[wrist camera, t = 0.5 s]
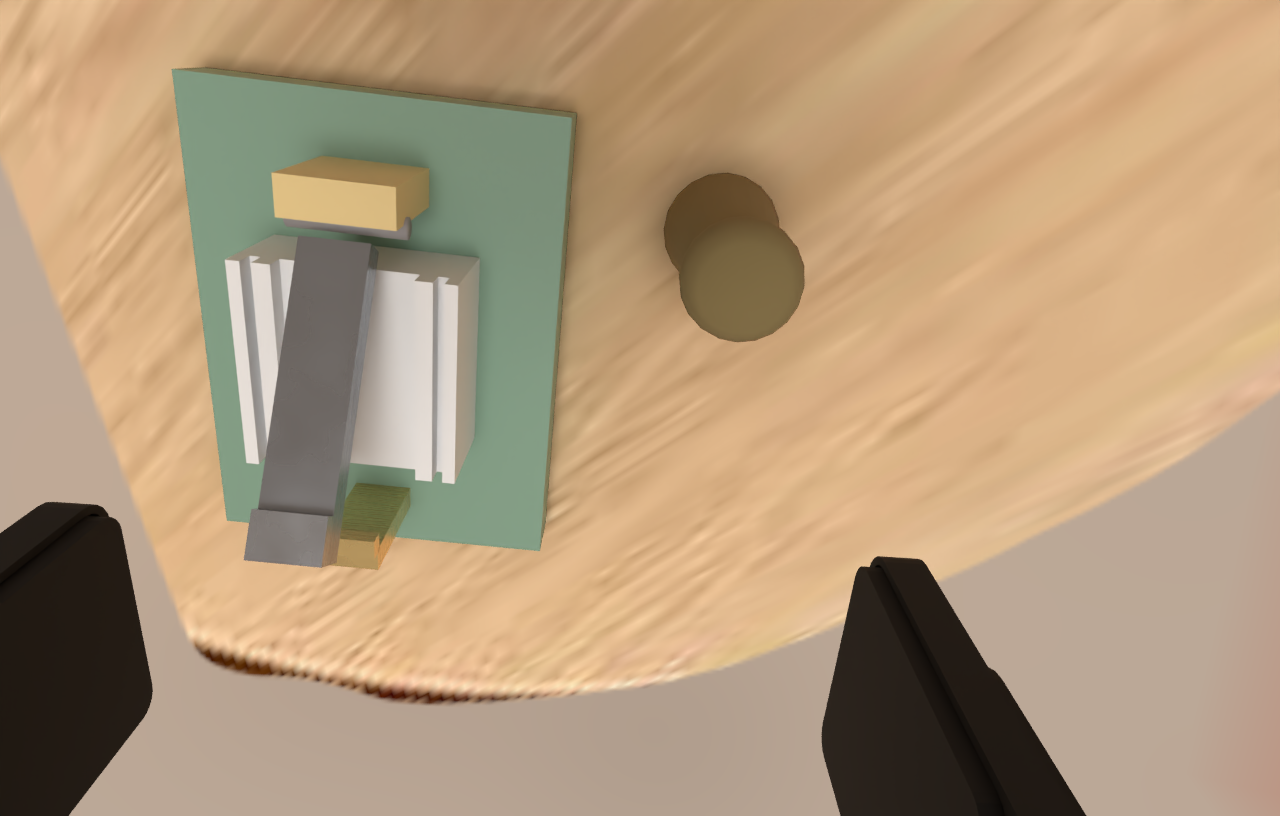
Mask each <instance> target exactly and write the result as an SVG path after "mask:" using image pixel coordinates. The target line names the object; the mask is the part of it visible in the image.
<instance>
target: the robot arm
mask: <svg viewBox="0 0 1280 816" xmlns="http://www.w3.org/2000/svg"><path fill="white" fill-rule="evenodd" d="M152 692H153V690H152V682H151V676H150V671H149V666H148V661H147V656H146V651H145V646H144V641H143V636H142V631H141V626H140V620H139V615H138V610H137V605H136V600H135V595H134V590H133V585H132V580H131V575H130V570H129V565H128V560H127V554H126V549H125V545H124V540H123V534H122V529H121V526H120V524H119V523H118V521H117V520H116V519H114V518H112V517H109V516H108V513H107V512H106V511H105V509H104V508H103V507H101V506H98V505H91V504H76V503H61V502H46V503H44V504H42V505H40V506H38V507H36V508H35V509H34V510H32V511H31V512H29V513H28V514H27V515H25V516H24V517H22V518H21V519H20V520H18V521H17V522H15V523H14V524H13V525H11V526H10V527H8V528H7V529H6V530H4V531H3V532H1V533H0V816H69V814H70V813H71V811H72V810H73V809H74V808H75V807H76V805H77V804H78V803H79V801H80V800H81V799H82V797H83V796H84V795H85V793H86V792H87V791H88V789H89V788H90V787H91V785H92V784H93V783H94V782H95V780H96V779H97V778H98V776H99V775H100V774H101V773H102V771H103V770H104V769H105V768H106V766H107V765H108V764H109V762H110V761H111V760H112V758H113V757H114V756H115V755H116V753H117V752H118V750H119V749H120V748H121V747H122V745H123V744H124V743H125V741H126V740H127V739H128V738H129V736H130V735H131V734H132V732H133V731H134V730H135V729H136V727H137V726H138V725H139V723H140V722H141V721H142V719H143V718H144V716H145V715H146V713H147V711H148V708H149V706H150V703H151V699H152ZM822 748H823V754H824V758H825V762H826V766H827V769H828V773H829V776H830V780H831V783H832V787H833V791H834V794H835V798H836V801H837V805H838V808H839V812H840V815H841V816H1086V815H1085V813H1084V811H1083V810H1082V808H1081V806H1080V805H1079V803H1078V802H1077V800H1076V798H1075V797H1074V795H1073V793H1072V792H1071V790H1070V789H1069V787H1068V785H1067V784H1066V782H1065V781H1064V779H1063V777H1062V776H1061V774H1060V772H1059V771H1058V769H1057V768H1056V766H1055V764H1054V763H1053V761H1052V759H1051V758H1050V756H1049V755H1048V753H1047V751H1046V750H1045V748H1044V747H1043V745H1042V743H1041V742H1040V740H1039V738H1038V737H1037V735H1036V733H1035V732H1034V730H1033V729H1032V727H1031V726H1030V724H1029V722H1028V721H1027V719H1026V717H1025V716H1024V714H1023V712H1022V711H1021V709H1020V708H1019V706H1018V704H1017V703H1016V701H1015V700H1014V698H1013V696H1012V695H1011V693H1010V691H1009V690H1008V688H1007V687H1006V685H1005V683H1004V682H1003V680H1002V679H1001V678H1000V676H999V675H998V674H997V673H996V672H995V671H994V670H992V669H990V668H989V667H988V666H987V665H986V663H985V661H984V660H983V658H982V657H981V655H980V653H979V652H978V650H977V648H976V647H975V645H974V643H973V642H972V640H971V638H970V637H969V635H968V633H967V632H966V630H965V628H964V627H963V625H962V623H961V622H960V620H959V619H958V617H957V615H956V614H955V612H954V610H953V609H952V607H951V605H950V604H949V602H948V600H947V599H946V597H945V595H944V594H943V592H942V591H941V589H940V587H939V585H938V584H937V582H936V580H935V579H934V577H933V576H932V574H931V572H930V571H929V569H928V567H927V566H926V564H925V563H924V562H923V561H922V560H920V559H911V558H895V557H880V556H877V557H876V558H874V559H873V561H872V563H871V565H870V567H860V568H859V569H858V571H857V573H856V576H855V581H854V585H853V590H852V594H851V599H850V603H849V608H848V612H847V617H846V621H845V626H844V631H843V635H842V639H841V644H840V649H839V653H838V658H837V662H836V666H835V671H834V676H833V680H832V684H831V689H830V694H829V698H828V702H827V707H826V712H825V716H824V720H823V726H822Z"/></svg>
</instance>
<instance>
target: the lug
mask: <svg viewBox="0 0 1280 816" xmlns="http://www.w3.org/2000/svg"><path fill="white" fill-rule="evenodd" d="M410 506H411V505H410V488H405V487H395V486H385V485H375V484H365V483H356V484H355V486H354V487H353V489H352V490H351V492H350V493H349V495H348V496H347V498H346V499H345V504H344V511H343V519H342V526H341V533H340V541H339V548H338V555H337V562H336V563H334V564H331V565H333V566H344V567H354V568H365V569H375V570H378V569H379V567H380V565H381V563H382V561H383V559H384V557H385V555H386V553H387V552H388V550H389V548H390V546H391V544H392V542H393V540H394V538H395V536H396V534H397V532H398V530H399V528H400V526H401V524H402V522H403V520H404V518H405V516H406V514H407V512H408V510H409V508H410Z"/></svg>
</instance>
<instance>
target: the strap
mask: <svg viewBox="0 0 1280 816" xmlns="http://www.w3.org/2000/svg"><path fill="white" fill-rule="evenodd" d="M378 255H379V252H378V250H377V249H376V248H375V247H374V246H373V245H372V244H369V243H361V242H352V241H343V240H334V239H325V238H317V237H308V236H299V235H298V239H297V246H296V253H295V260H294V266H293V273H292V280H291V287H290V294H289V300H288V307H287V314H286V321H285V328H284V334H283V341H282V348H281V355H280V362H279V368H278V375H277V382H276V389H275V396H274V402H273V409H272V416H271V423H270V430H269V436H268V443H267V450H266V457H265V464H264V470H263V477H262V484H261V491H260V498H259V504H258V508H256V509H251V515H250V522H249V528H248V535H247V542H246V549H245V555H244V560H247V561H258V562H268V563H279V564H289V565H300V566H310V567H321V568H322V567H325V566H328V565H331V564H334V563H336V562H337V555H338V548H339V541H340V533H341V526H342V519H343V511H344V504H345V497H346V489H347V482H348V475H349V467H350V460H351V453H352V445H353V438H354V431H355V423H356V416H357V409H358V401H359V394H360V387H361V379H362V372H363V365H364V358H365V350H366V343H367V336H368V328H369V321H370V314H371V306H372V299H373V292H374V284H375V277H376V270H377V262H378Z"/></svg>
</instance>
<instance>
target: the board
mask: <svg viewBox="0 0 1280 816" xmlns="http://www.w3.org/2000/svg"><path fill="white" fill-rule="evenodd" d="M172 75H173V83H174V91H175V99H176V108H177V116H178V124H179V132H180V140H181V148H182V157H183V165H184V173H185V181H186V189H187V198H188V206H189V214H190V222H191V230H192V239H193V247H194V255H195V263H196V271H197V279H198V288H199V296H200V304H201V312H202V320H203V329H204V337H205V345H206V353H207V361H208V369H209V378H210V386H211V394H212V402H213V410H214V419H215V427H216V435H217V443H218V451H219V460H220V468H221V476H222V484H223V492H224V500H225V509H226V517H227V521H237V522H247V523H249V522H250V515H251V509H256V508H258V504H259V498H260V491H261V484H262V477H263V470H264V464H265V457H266V450H267V443H268V436H269V430H270V423H271V416H272V409H273V402H274V396H275V389H276V382H277V375H278V368H279V362H280V355H281V348H282V341H283V334H284V328H285V321H286V314H287V307H288V300H289V294H290V287H291V280H292V273H293V266H294V260H295V253H296V246H297V239H298V235H299V236H308V237H317V238H325V239H334V240H343V241H352V242H361V243H369V244H372V245H373V246H374V247H375V248H376V249H377V250H378V252H379V255H378V262H377V270H376V277H375V284H374V292H373V299H372V306H371V314H370V321H369V328H368V336H367V343H366V350H365V358H364V365H363V372H362V379H361V387H360V394H359V401H358V409H357V416H356V423H355V431H354V438H353V445H352V453H351V460H350V467H349V475H348V482H347V489H346V497H345V499H346V498H347V496H348V495H349V493H350V492H351V490H352V489H353V487H354V486H355V484H356V483H365V484H375V485H385V486H395V487H405V488H410V505H411V506H410V508H409V510H408V512H407V514H406V516H405V518H404V520H403V522H402V524H401V526H400V528H399V530H398V532H397V534H396V536H395V537H401V538H411V539H421V540H432V541H442V542H452V543H462V544H473V545H483V546H493V547H503V548H514V549H524V550H534V551H540V548H541V543H542V538H543V533H544V528H545V523H546V511H547V498H548V485H549V472H550V459H551V446H552V432H553V419H554V406H555V393H556V380H557V367H558V354H559V341H560V328H561V315H562V302H563V289H564V276H565V263H566V250H567V237H568V224H569V210H570V197H571V184H572V171H573V158H574V145H575V132H576V119H577V113H573V112H565V111H557V110H549V109H541V108H532V107H524V106H516V105H508V104H500V103H492V102H483V101H475V100H467V99H459V98H451V97H443V96H434V95H426V94H418V93H410V92H402V91H393V90H385V89H377V88H369V87H361V86H353V85H344V84H336V83H328V82H320V81H312V80H304V79H295V78H287V77H279V76H271V75H263V74H255V73H246V72H238V71H230V70H222V69H214V68H184V69H172Z"/></svg>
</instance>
